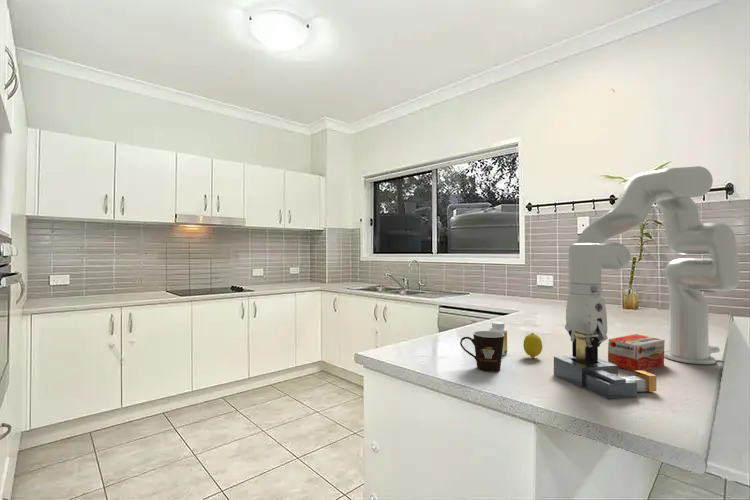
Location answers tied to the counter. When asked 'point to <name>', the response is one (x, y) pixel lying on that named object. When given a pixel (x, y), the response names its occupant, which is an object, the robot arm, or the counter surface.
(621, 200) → the robot arm
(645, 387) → the lock pin
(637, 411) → the counter surface
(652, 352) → the medicine box
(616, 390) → the mount
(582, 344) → the block
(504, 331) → the supplement bottle
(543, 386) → the counter surface
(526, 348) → the lemon
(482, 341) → the coffee mug
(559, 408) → the counter surface
